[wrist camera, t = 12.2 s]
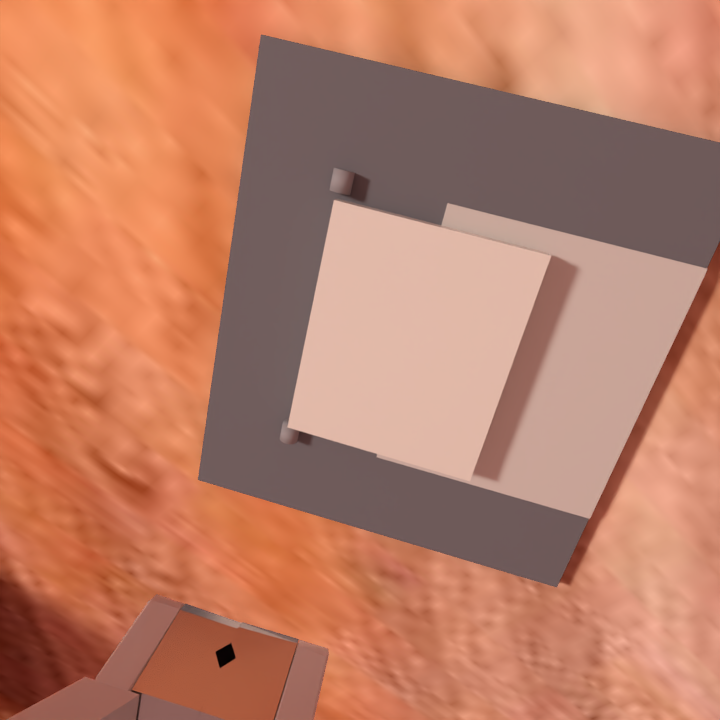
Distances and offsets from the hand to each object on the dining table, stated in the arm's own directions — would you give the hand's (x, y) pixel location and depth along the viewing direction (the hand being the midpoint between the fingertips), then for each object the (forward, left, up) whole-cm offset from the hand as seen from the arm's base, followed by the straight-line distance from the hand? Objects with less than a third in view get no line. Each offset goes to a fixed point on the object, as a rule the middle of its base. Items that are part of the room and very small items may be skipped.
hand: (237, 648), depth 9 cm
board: (0, -3, -21) cm, 21 cm away
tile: (0, +3, -20) cm, 20 cm away
